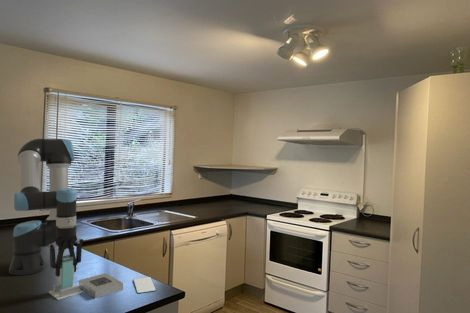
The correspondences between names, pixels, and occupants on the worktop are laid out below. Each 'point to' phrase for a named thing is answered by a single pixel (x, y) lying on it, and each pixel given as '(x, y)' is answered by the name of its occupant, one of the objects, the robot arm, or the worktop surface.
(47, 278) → the worktop surface
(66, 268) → the plug
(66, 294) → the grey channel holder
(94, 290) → the port panel
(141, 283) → the smartphone
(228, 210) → the worktop surface
